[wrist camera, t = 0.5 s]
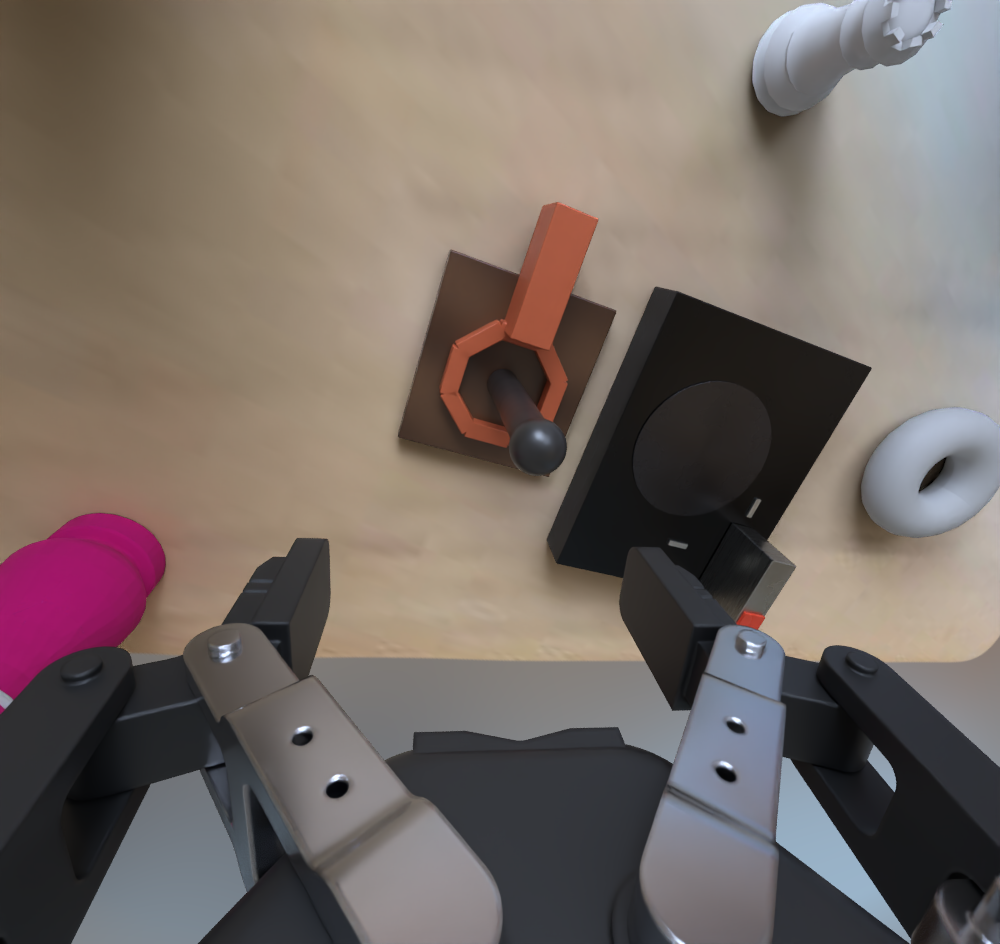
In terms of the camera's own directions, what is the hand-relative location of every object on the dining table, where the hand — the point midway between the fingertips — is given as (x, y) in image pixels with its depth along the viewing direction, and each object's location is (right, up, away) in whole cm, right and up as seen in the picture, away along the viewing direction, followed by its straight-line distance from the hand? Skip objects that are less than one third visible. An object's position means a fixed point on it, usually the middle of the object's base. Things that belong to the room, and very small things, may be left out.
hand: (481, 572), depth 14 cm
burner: (+13, +4, +18) cm, 23 cm away
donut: (+31, +3, +25) cm, 40 cm away
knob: (+16, -3, +22) cm, 28 cm away
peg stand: (+1, +8, +18) cm, 20 cm away
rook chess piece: (+15, +24, +13) cm, 31 cm away
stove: (+14, +3, +22) cm, 27 cm away
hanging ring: (+2, +11, +16) cm, 19 cm away
